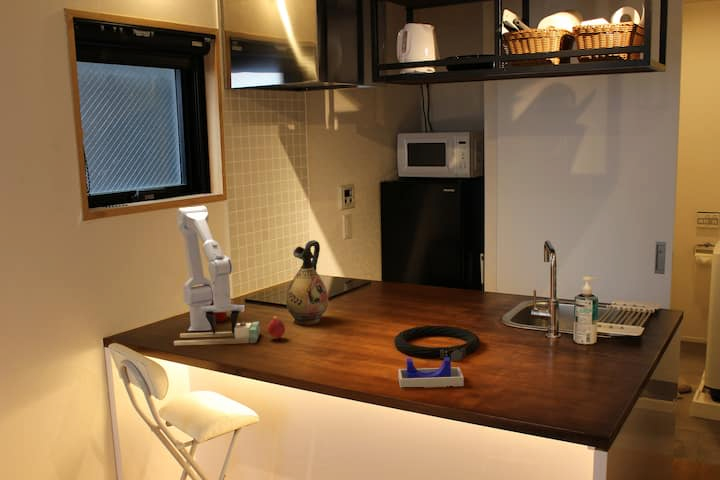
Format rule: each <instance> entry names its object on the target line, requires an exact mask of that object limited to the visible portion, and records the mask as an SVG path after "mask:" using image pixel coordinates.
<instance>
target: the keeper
mask: <svg viewBox="0 0 720 480" xmlns="http://www.w3.org/2000/svg"><path fill="white" fill-rule="evenodd" d="M252 324H253V322H245V321H244V322H239V323H238V322H236V325H235V328H234V329H235V336H234V339H241V338H250V335H249V330H250V328H251V326H252Z"/></svg>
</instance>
